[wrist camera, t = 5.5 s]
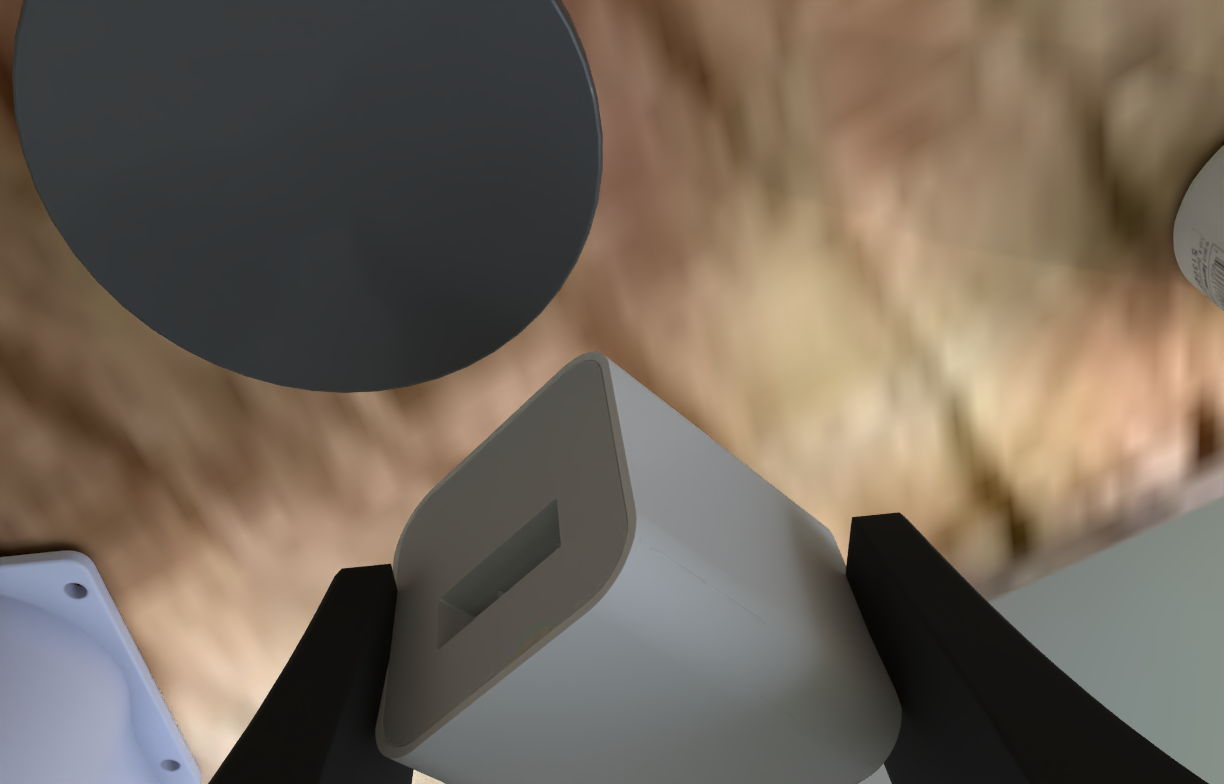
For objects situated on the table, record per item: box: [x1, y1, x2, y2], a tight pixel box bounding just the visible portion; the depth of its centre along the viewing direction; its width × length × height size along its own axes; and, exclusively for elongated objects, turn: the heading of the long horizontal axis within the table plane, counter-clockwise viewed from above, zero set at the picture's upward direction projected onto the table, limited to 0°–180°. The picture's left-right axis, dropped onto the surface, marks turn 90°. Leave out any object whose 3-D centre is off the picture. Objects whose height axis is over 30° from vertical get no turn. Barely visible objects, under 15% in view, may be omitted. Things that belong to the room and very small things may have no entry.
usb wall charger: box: [375, 352, 902, 784], centre depth 13 cm, size 4×7×4 cm, turn 45°
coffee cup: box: [12, 0, 603, 393], centre depth 15 cm, size 7×7×6 cm
